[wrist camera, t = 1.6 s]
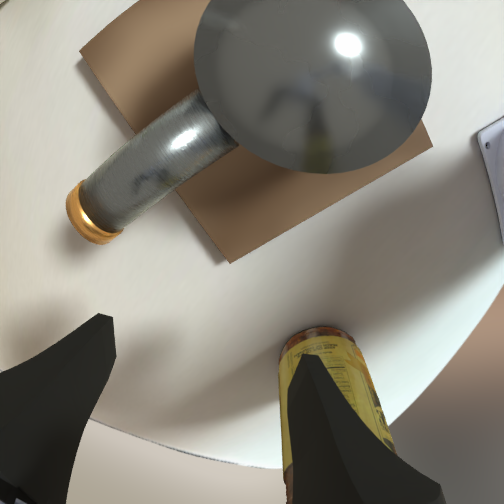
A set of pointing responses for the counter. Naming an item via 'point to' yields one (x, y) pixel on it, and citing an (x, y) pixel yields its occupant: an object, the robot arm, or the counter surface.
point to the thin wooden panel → (235, 162)
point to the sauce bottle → (345, 376)
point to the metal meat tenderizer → (272, 101)
